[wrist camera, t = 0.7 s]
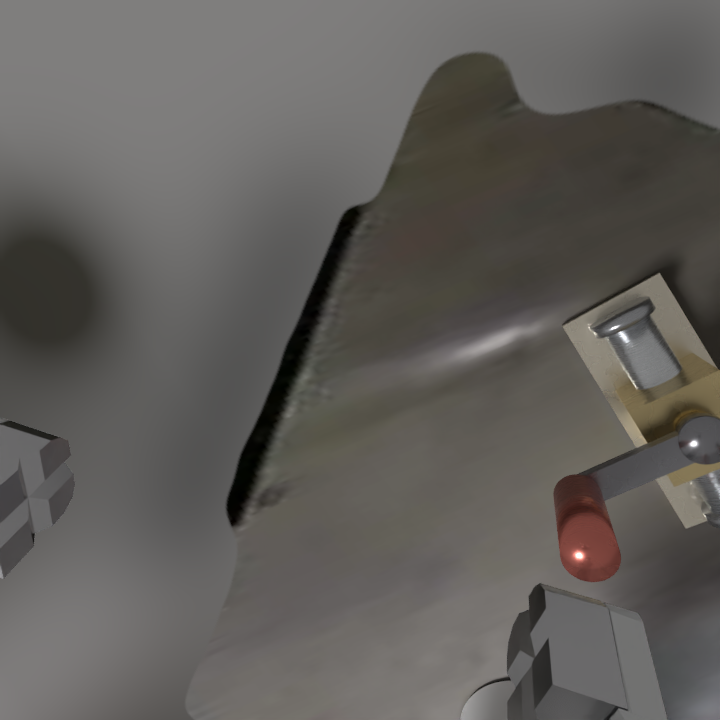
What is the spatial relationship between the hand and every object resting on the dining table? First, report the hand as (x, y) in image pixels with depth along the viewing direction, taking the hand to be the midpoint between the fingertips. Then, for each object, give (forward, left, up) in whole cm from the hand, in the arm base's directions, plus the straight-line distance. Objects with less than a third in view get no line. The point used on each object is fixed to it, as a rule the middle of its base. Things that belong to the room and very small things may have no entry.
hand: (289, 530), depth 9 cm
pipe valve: (-17, -9, -46) cm, 50 cm away
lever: (-17, -4, -37) cm, 41 cm away
